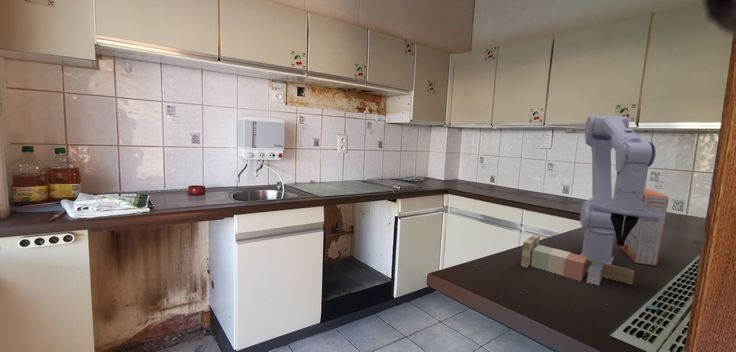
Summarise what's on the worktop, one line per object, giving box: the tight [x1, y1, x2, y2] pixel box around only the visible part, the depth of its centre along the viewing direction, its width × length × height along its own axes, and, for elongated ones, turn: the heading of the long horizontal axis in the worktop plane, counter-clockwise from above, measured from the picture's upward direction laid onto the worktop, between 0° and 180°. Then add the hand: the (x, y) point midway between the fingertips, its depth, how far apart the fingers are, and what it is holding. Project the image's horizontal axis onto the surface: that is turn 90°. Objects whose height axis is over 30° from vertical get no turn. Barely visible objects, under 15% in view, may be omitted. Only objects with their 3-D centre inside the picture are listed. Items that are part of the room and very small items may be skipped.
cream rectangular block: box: [546, 248, 572, 277], centre depth 90 cm, size 6×4×5 cm, turn 138°
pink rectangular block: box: [562, 252, 588, 282], centre depth 87 cm, size 6×4×5 cm, turn 138°
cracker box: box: [619, 188, 669, 267], centre depth 102 cm, size 14×6×21 cm, turn 157°
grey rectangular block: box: [586, 262, 604, 287], centre depth 85 cm, size 6×2×4 cm, turn 138°
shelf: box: [520, 234, 635, 286], centre depth 88 cm, size 10×24×7 cm, turn 48°
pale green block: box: [530, 244, 555, 272], centre depth 93 cm, size 6×4×5 cm, turn 138°
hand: (620, 244), depth 83 cm, fingers closed
